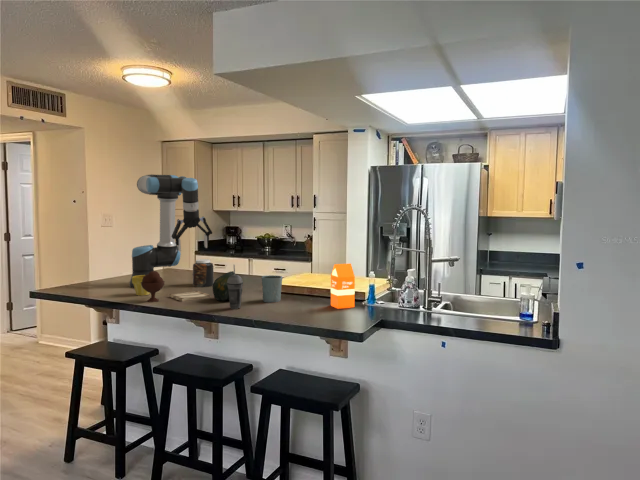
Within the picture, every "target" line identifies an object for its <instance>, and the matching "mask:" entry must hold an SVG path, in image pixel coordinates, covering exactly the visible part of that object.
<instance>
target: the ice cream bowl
mask: <svg viewBox="0 0 640 480" xmlns="http://www.w3.org/2000/svg"><path fill="white" fill-rule="evenodd" d="M141 285H142V287H143V288H144V289H145V290H146V291H147V292H149V293H150V295H151V296H150V298H149V299H147V302H148V303H157V302H160V299H158V298H157V297H156V293H158V292H159V291H161V290H162V289H163V287H164V285H165V281H164V279H163V278H162V277H161V275H160V273H159V272H158V271H157V270H154V271H151V272H150V273H149V274H147V275H145V276H144V277H143V279H142V282H141Z"/></svg>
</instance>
